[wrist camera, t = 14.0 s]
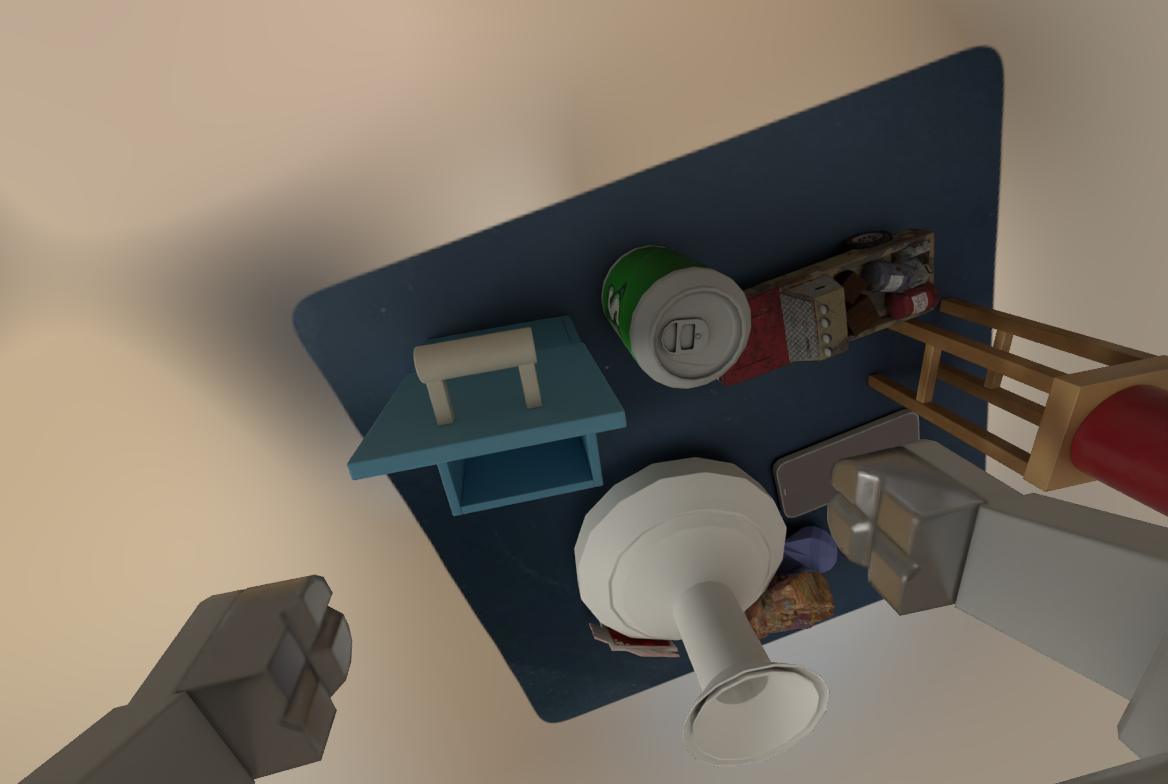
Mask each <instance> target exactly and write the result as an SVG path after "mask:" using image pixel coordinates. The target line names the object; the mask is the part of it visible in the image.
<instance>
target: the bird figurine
mask: <svg viewBox="0 0 1168 784" xmlns="http://www.w3.org/2000/svg"><path fill="white" fill-rule="evenodd" d="M836 560H837V545H836V543H835V541H834V539H833V537H831V536H830V535H829V534H828V533H827V532H826V531H824V530H823V529H820V528H817V527H815V526H812V527H804V528H802V529H800V530H799V531H797V532H796V533H794V534H793V535H791V536H790V537H788V538H787V539H785V544H784V552H783V560H782V562H781V564H780V565H779V567H778V569H777V571H776V572H778V573H779V574H780V573H785V574H793V573H802V572H804V571H807V572H820V573H824V572H826V571H828V570H830V569H831V568H832V567H833V566H834V564H835V563H836Z"/></svg>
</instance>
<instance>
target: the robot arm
mask: <svg viewBox="0 0 1168 784" xmlns="http://www.w3.org/2000/svg"><path fill="white" fill-rule="evenodd" d="M830 483H831V484H832V485H833V486H834V487H835V488H836V490H837V492H836V493H835V494H834V496H833V497H832V499H831V500H830V501H829V503H828V508H827V522H828V525H829V528H830V532H831V535H832V537H833V539H834V541H835V542H836V544H837V546H838V548H839V549H840V550H841V551H842V552H843V554H844V555H845V556H846V557H847V558H848V559H849V560H850V561H852V562H854V563H857V564H859V565H861V566H863V567H866V568H868V582H869V583H870V584H871V585H872V586H873V587H874V588H875V589H876V590H877V591H878V593H879V594H880V595H881V596H882V597H883V598H884V599H885V600H886V601H887V602H888V603H889V605H890V606H891V607H892V608H893V609H894V610H895V611H896V612H897V613H898V614H899V615H900V616H901V615H905V614H910V613H915V612H919V611H924V610H929V609H933V608H938V607H942V606H947V605H952V604H955V607H956V608H958V609H960V610H961V611H963V612H965V613H967V614H969V615H971V616H973V617H975V618H977V619H978V620H980V621H982V622H984V623H986V624H988V625H990V626H991V627H993V628H995V629H997V630H999V631H1001V632H1003V633H1005V634H1006V635H1008V636H1010V637H1012V638H1014V639H1016V640H1018V641H1020V642H1021V643H1023V644H1025V645H1027V646H1029V647H1031V648H1033V649H1035V650H1036V651H1038V652H1040V653H1042V654H1044V655H1046V656H1048V657H1050V658H1051V659H1053V660H1055V661H1057V662H1059V663H1061V664H1063V665H1065V666H1066V667H1068V668H1070V669H1072V670H1074V671H1076V672H1078V673H1079V674H1082V675H1083V676H1085V677H1087V678H1089V679H1091V680H1093V681H1094V682H1096V683H1098V684H1100V685H1102V686H1104V687H1106V688H1108V689H1109V690H1111V691H1113V692H1115V693H1117V694H1119V695H1121V696H1123V697H1125V698H1126V699H1128V700H1130V702H1129V704H1128V706H1127V708H1126V710H1125V712H1124V714H1123V716H1122V718H1121V719H1120V721H1119V724H1118V725H1117V728H1118V738H1119V739H1120V740H1121V741H1122V742H1123V743H1124V744H1125V745H1126V746H1127V747H1128V748H1129V749H1131V750H1132V751H1133V752H1134V753H1135V754H1136V755H1137V756H1138V757H1139V758H1140V760H1137V761H1133V762H1130V763H1126V764H1123V765H1119V766H1116V767H1112V768H1109V769H1105V770H1102V771H1098V772H1095V773H1092V774H1088V775H1085V776H1081V777H1077V778H1074V779H1070V780H1067V781H1063V782H1060V783H1056V784H1168V528H1167V527H1163V526H1159V525H1155V524H1151V523H1147V522H1143V521H1140V520H1135V519H1132V518H1128V517H1124V516H1120V515H1116V514H1112V513H1109V512H1105V511H1101V510H1097V509H1093V508H1090V507H1086V506H1082V505H1078V504H1074V503H1070V502H1066V501H1063V500H1059V499H1055V498H1051V497H1047V496H1043V495H1039V494H1036V493H1031V494H1026V495H1023V494H1021V493H1019V492H1018V491H1016V490H1015V489H1013V488H1011V487H1010V486H1008V485H1006V484H1005V483H1003V482H1001V481H1000V480H998V479H996V478H995V477H993V476H991V475H990V474H988V473H987V472H985V471H983V470H982V469H980V468H978V467H977V466H975V465H973V464H972V463H970V462H968V461H967V460H965V459H964V458H962V457H960V456H959V455H957V454H955V453H954V452H952V451H950V450H949V449H947V448H945V447H944V446H942V445H941V444H939V443H937V442H936V441H931V440H927V439H921V440H917V441H913V442H909V443H905V444H900V445H896V446H894V447H893V448H887V449H883V450H878V451H874V452H870V453H865V454H861V455H856V456H852V457H847V458H843V459H839V460H835V462H834V464H833V466H832V467H831V472H830ZM331 596H332V591H331V589H330V587H329V586H328V584H327V582H326V580H325V579H324V577H321V576H317V575H311V576H306V577H301V578H296V579H291V580H286V581H281V582H276V583H271V584H265V585H260V586H255V587H250V588H247V589H244V590H237V591H233V592H228V593H223V594H218V595H213V596H211V597H209V598H207V599H206V600H204V601H202V602H201V603H200V604H199V605H198V606H197V608H196V609H195V611H194V612H193V613H192V615H191V616H190V618H189V619H188V620H187V622H186V623H185V625H184V626H183V627H182V629H181V631H180V632H179V633H178V635H177V636H176V637H175V639H174V640H173V642H172V643H171V645H170V646H169V647H168V649H167V650H166V651H165V653H164V654H163V656H162V657H161V659H160V660H159V661H158V663H157V664H156V665H155V667H154V668H153V670H152V671H151V672H150V674H149V675H148V677H147V678H146V680H145V681H144V682H143V684H142V685H141V687H140V688H139V689H138V691H137V692H136V694H135V695H134V696H133V698H132V699H131V701H130V702H129V703H128V705H125V706H121V707H117V708H114V709H112V710H111V711H110V712H109V713H107V714H106V715H105V716H104V717H102V718H101V719H100V720H99V721H97V722H96V723H95V724H93V725H92V726H91V727H90V728H88V729H87V730H86V731H84V732H83V733H82V734H81V735H79V736H78V737H77V738H76V739H74V740H73V741H72V742H70V743H69V744H68V745H67V746H65V747H64V748H63V749H61V750H60V751H59V752H58V753H56V754H55V755H54V756H52V757H51V758H50V759H49V760H47V761H46V762H45V763H44V764H42V765H41V766H40V767H38V768H37V769H36V770H35V771H34V772H32V773H31V774H30V775H28V776H27V777H26V778H24V779H23V780H22V781H21V782H19V783H18V784H255V781H254V780H253V779H257V778H260V777H264V776H267V775H271V774H275V773H278V772H281V771H285V770H289V769H292V768H296V767H300V766H303V765H307V764H310V763H314V762H317V761H321V759H322V756H323V753H324V749H325V746H326V743H327V740H328V736H329V733H330V730H331V727H332V724H333V720H334V717H335V714H336V711H337V710H336V708H335V706H334V704H333V703H332V700H331V696H332V695H333V694H334V693H335V692H336V691H337V690H338V689H339V687H340V686H341V685H342V684H343V683H344V682H345V681H346V678H347V675H348V671H349V667H350V664H351V654H352V653H351V652H352V638H351V633H350V629H349V625H348V623H347V621H346V619H345V617H344V615H343V614H342V613H340V612H338V611H337V610H335V609H333V608H331V607H329V606H328V603H329V601H330V598H331Z"/></svg>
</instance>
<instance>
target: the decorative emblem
mask: <svg viewBox="0 0 1168 784" xmlns="http://www.w3.org/2000/svg"><path fill="white" fill-rule="evenodd" d="M589 625H590V628H591V629H592V632H593V635H594V638H595V639H597V640H600V641H603V642H605V643H608V644H609V645H610V648H611V650H612V651H629V652H631V653H634V654H637V655H639V656H654V657H659V656H667V657H679V655H678V654H675V653H673V652H670V651H677V648H676V646H675V645H674V644H673V642H672V641H671V640H657V639H642V638H630V637H628V636H626V635H624V634H622V633H620V632H618V631H616V630H614V629H612V628H610V627H608V626H606V625H604V624H602V623H601V622H600V625H601V627H599V626H596V625H594V624H591V623H589Z"/></svg>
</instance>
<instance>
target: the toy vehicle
mask: <svg viewBox="0 0 1168 784" xmlns="http://www.w3.org/2000/svg"><path fill="white" fill-rule="evenodd" d="M845 248H846V252H845V253H842V254H840V255H837V256H834V257H832V258H829V259H826V260H824V261H821V262H818V263H815V264H813V265H810V266H807V267H805V268H802V269H799V270H797V271H794V272H791V273H788V274H786V275H783V276H780V277H777V278H775V279H772V280H769V281H766V282H764V283H761V284H759V285H756V286H754V287H751V288H749V289H746V290H744V294H745V296H746V299H747V302H748V304H749V307H750V309H751V330H750V334H749V337H748V341H747V344H746V347H745V349H744V350H743V352H742V354H741V355H740V357H739V358H738V360H737V362H736V363H735V364H734V365H733V366H732V367H731V368H730V369H729V370H728V371H727V372H725V373H724V374H723V375H722V376H720V377H719V378H717V379H718V380H719V381H720V382H722V384H723V385H726V386H731V385H734V384H737V383H740V382H743V381H745V380H748V379H751V378H753V377H756V376H759V375H761V374H764V373H767V372H769V371H772V370H774V369H777V368H780V367H782V366H785V365H787V364H790V363H793V362H795V361H801V362H802V361H815V360H816V361H818V360H819V361H821V360H824V359H826V358H829V357H832V356H835V355H837V354H840V353H843V352H845V351H848V350H849V341H852V340H855V339H857V338H860V337H863V336H866V335H868V334H871V333H874V332H876V331H879V330H882V329H884V328H887V327H890V326H893V325H895V324H898V323H901V322H903V321H906V320H909V319H911V318H914V317H917V316H920V315H922V314H925V313H928V312H930V311H933V310H934V307H935V306H936V305H937V304H938V303H939V292H938V290H937V288H936V287H935V286H934V232H933V231H926V230H923V229H909V230H904V231H902V232H899V233H896V234H893V235H891V236H890V232H885V231H875V232H873V231H872V232H867V233H862V234H858V235H856V236H855V235H854V236H853V237H850V238H848V239H847V240H846V241H845ZM737 285H738V284H737ZM738 286H739V288H740V289H741V290H742V291H743V289H742V286H740V285H738Z"/></svg>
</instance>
